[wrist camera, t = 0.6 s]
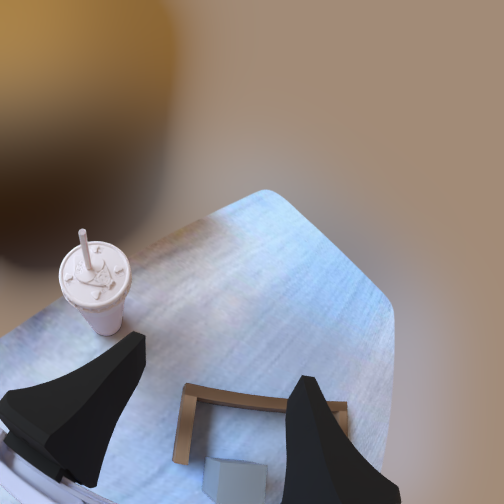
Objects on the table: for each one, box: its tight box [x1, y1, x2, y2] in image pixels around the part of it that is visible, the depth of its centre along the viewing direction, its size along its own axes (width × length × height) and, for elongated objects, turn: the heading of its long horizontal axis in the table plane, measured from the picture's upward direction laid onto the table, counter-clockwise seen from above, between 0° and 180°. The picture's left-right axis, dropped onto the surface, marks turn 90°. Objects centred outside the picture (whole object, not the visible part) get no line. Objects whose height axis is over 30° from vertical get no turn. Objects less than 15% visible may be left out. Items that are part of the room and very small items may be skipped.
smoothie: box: [59, 229, 132, 336], centre depth 21 cm, size 6×6×14 cm
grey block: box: [202, 457, 267, 504], centre depth 18 cm, size 4×4×6 cm
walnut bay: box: [172, 383, 348, 465], centre depth 23 cm, size 8×18×2 cm, turn 86°
